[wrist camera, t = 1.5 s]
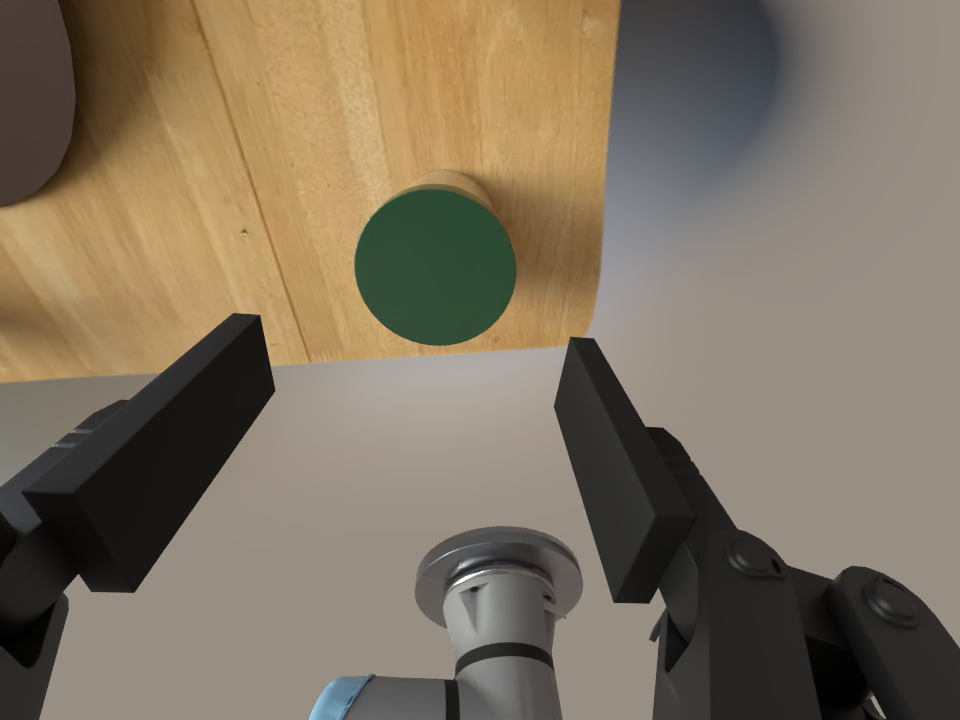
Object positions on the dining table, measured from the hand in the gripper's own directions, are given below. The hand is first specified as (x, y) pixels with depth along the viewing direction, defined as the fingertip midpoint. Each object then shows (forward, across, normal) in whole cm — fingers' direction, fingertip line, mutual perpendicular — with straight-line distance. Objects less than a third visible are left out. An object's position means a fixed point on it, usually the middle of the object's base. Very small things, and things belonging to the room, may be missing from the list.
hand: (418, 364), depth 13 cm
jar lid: (+9, 0, 0) cm, 9 cm away
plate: (+20, -34, +12) cm, 41 cm away
